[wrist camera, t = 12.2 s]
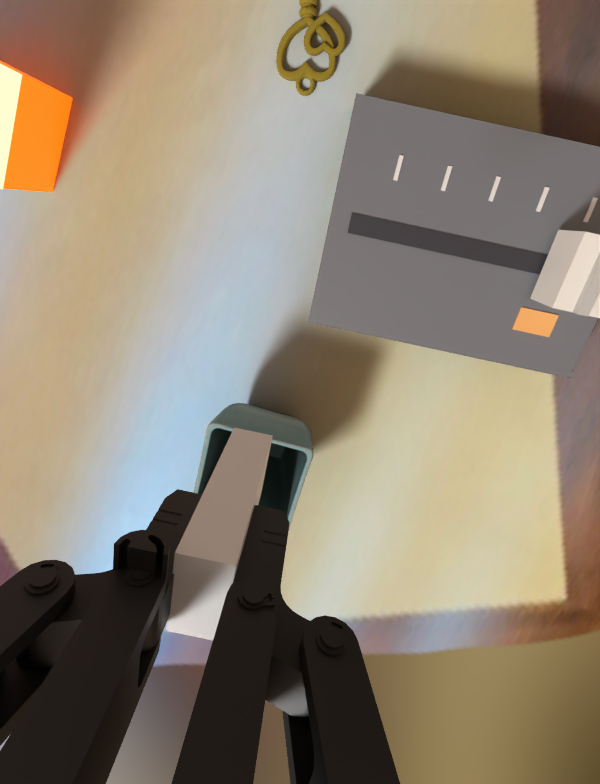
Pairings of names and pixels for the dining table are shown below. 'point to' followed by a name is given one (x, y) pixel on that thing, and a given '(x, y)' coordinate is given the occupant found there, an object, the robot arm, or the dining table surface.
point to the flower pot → (285, 454)
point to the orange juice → (30, 130)
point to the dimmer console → (455, 235)
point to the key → (306, 71)
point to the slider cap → (571, 274)
